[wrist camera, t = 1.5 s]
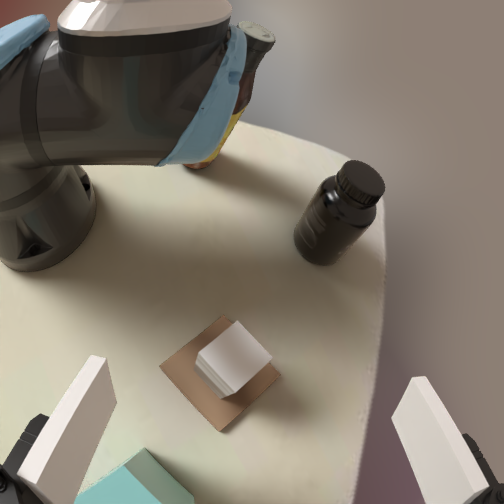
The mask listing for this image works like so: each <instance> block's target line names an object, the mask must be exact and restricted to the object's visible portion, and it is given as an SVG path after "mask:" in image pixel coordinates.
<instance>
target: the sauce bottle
mask: <svg viewBox="0 0 504 504" xmlns="http://www.w3.org/2000/svg"><path fill="white" fill-rule="evenodd" d="M236 27H237V28H239V29H241V30H242V31H243V32H244V34H245V36H246V41H247V52H246V61H245V67H244V70H243V73H242V76H241V79H240V81H239V88H240V89H239V93H238V97H237V101H236V104H235V107H234V110H233V113H232V116H231V119H230V122H229V124H228V127H227V129H226V131H225V134H224V136H223V138H222V140H221V142H220V144H219V145H218V147H217V148H216V150H215V151H214V152H213V153H212V154H211V155H210V156H209V157H208V158H207V159H205V160H203V161H201V162H198V163H194V164H183V165H184V166H187V167H190V168H196V169H199V168H204V167H206V166H208V165H209V164H210V163H211V162H212V161H213V160H214V158H215V157H216V156H217V155H218V153H219V152H220V150H221V148H222V146H223V145H224V143H225V141H226V140H227V138H228V136H229V135H230V133H231V131H232V130H233V128H234V126H235V124H236V123H237V121H238V120H239V118H240V116H241V114H242V113H243V111H244V110H245V108H246V106H247V105H248V103H249V101H250V99H251V95H252V89H253V83H254V78H255V72H256V69H257V67H258V65H259V63H260V61H261V60H262V58H263V57H264V55H265V54H266V53H267V52H268V51H269V50H271V48H272V46H273V45H274V43H275V36H274V34H273V33H271V32H270V31H269V30H267V29H266V28H264V27H262V26H260V25H258V24H255V23H252V22H246V21H243V22H240V23H238V25H237V26H236Z"/></svg>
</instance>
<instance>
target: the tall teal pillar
mask: <svg viewBox="0 0 504 504" xmlns="http://www.w3.org/2000/svg"><path fill="white" fill-rule="evenodd" d="M74 504H195V501H194V496H193V495H192V494H191V493H189V492H188V491H187V490H186V489H185V488H184V487H183V486H182V485H181V484H180V483H179V482H177V481H176V480H175V479H174V478H173V477H172V476H171V475H170V474H169V473H168V472H167V471H166V470H165V469H164V468H163V467H162V466H161V465H160V464H159V463H158V462H157V461H156V460H155V459H154V458H153V457H152V456H151V454H150V453H149V452H148V451H147V450H146V449H145V448H143V449H141V450H140V451H139V452H137V453H136V454H134V455H133V456H132V457H130V458H129V459H128V460H126V461H125V462H123V463H122V464H121V465H119V466H118V467H116V468H115V469H114V470H112V471H111V472H109V473H108V474H106V475H105V476H104V477H102V478H101V479H99V480H98V481H96V482H95V483H93V484H92V485H91V486H89V487H88V488H86V489H85V490H84V491H82V492H81V493H79V494H78V495H77V496H76V499H75V501H74Z"/></svg>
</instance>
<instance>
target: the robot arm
mask: <svg viewBox="0 0 504 504" xmlns="http://www.w3.org/2000/svg"><path fill="white" fill-rule="evenodd" d="M231 13H232V6H231V5H230V3H229V2H228V1H227V0H72V2H71V3H70V4H69V5H68V6H67V7H66V9H65V10H64V11H63V12H62V13H61V15H60V16H59V17H58V22H57V23H58V24H57V25H58V31H51V32H50V31H49V27H50V22H48V20H47V17H46V16H45V15H43V14H40V15H32V16H28V17H25V18H22V19H20V20H17V21H15V22H13V23H11V24H9V25H7V26H4V27H2V28H1V29H0V260H1V261H2V262H3V263H4V264H5V265H7V266H8V267H10V268H12V269H15V270H18V271H27V272H29V271H38V270H42V269H45V268H48V267H50V266H53V265H55V264H57V263H58V262H60V261H62V260H63V259H65V258H66V257H67V256H68V255H70V254H71V253H72V252H73V251H74V250H75V249H76V248H77V247H78V246H79V245H80V244H81V242H82V241H83V240H84V238H85V237H86V235H87V234H88V232H89V230H90V228H91V226H92V223H93V220H94V217H95V212H96V199H95V194H94V190H93V187H92V183H91V181H90V178H89V176H88V175H87V173H86V172H85V171H84V169H83V168H82V167H81V165H151V166H154V167H158V166H159V167H161V166H164V165H166V164H194V163H198V162H201V161H203V160H205V159H207V158H208V157H209V156H210V155H211V154H212V153H213V152H214V151H215V150H216V148H217V147H218V145H219V144H220V142H221V140H222V138H223V136H224V134H225V131H226V129H227V127H228V124H229V122H230V119H231V116H232V113H233V110H234V107H235V104H236V101H237V97H238V93H239V89H240V88H239V81H240V79H241V76H242V73H243V70H244V67H245V61H246V52H247V41H246V36H245V34H244V32H243V31H242V30H241V29H239V28H237V27H236V26H234V25H232V24H229V21H230V17H231ZM116 404H117V401H116V397H115V393H114V389H113V385H112V381H111V376H110V372H109V367H108V363H107V358H103V357H98V356H94V355H90V357H89V358H88V360H87V361H86V363H85V364H84V366H83V367H82V369H81V370H80V372H79V373H78V375H77V376H76V377H75V379H74V380H73V382H72V383H71V385H70V387H69V388H68V390H67V391H66V393H65V394H64V396H63V397H62V399H61V400H60V402H59V403H58V405H57V407H56V408H55V410H54V411H53V413H52V415H51V416H50V417H48V416H45V415H43V414H39V415H38V416H36V417H35V418H33V419H32V420H31V421H30V422H29V424H28V425H27V427H26V428H25V431H24V432H23V433H22V435H21V436H20V439H18V441H17V443H16V444H15V446H14V447H13V449H12V451H11V452H10V454H9V456H8V457H7V459H6V461H5V462H4V464H3V465H1V464H0V504H74V501H75V499H76V496H77V494H78V491H79V489H80V486H81V484H82V481H83V479H84V476H85V474H86V472H87V469H88V467H89V465H90V462H91V460H92V458H93V455H94V453H95V451H96V448H97V446H98V444H99V442H100V439H101V437H102V435H103V433H104V430H105V428H106V426H107V424H108V421H109V419H110V417H111V415H112V413H113V411H114V408H115V406H116ZM391 419H392V421H393V423H394V426H395V428H396V430H397V433H398V435H399V437H400V440H401V442H402V445H403V447H404V449H405V452H406V454H407V456H408V459H409V462H410V464H411V467H412V469H413V471H414V474H415V477H416V479H417V482H418V484H419V487H420V489H421V492H422V494H423V497H424V500H425V503H426V504H504V484H502V483H501V484H499V483H498V481H497V480H496V478H495V476H494V474H493V473H492V471H491V469H490V467H489V465H488V463H487V462H486V460H485V458H483V454H482V453H481V451H479V447H478V446H477V444H476V442H475V441H474V440H473V439H472V438H471V437H470V436H469V435H468V434H463V435H461V434H460V432H459V430H458V428H457V427H456V425H455V423H454V421H453V420H452V418H451V417H450V415H449V413H448V412H447V410H446V409H445V406H444V405H443V403H442V402H441V400H440V399H439V397H438V395H437V394H436V392H435V390H434V389H433V387H432V386H431V384H430V383H429V381H428V380H427V378H426V377H425V376H421V377H412V379H411V381H410V383H409V385H408V387H407V389H406V391H405V393H404V395H403V397H402V399H401V401H400V403H399V405H398V407H397V409H396V411H395V412H394V415H393V416H392V418H391Z"/></svg>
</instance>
